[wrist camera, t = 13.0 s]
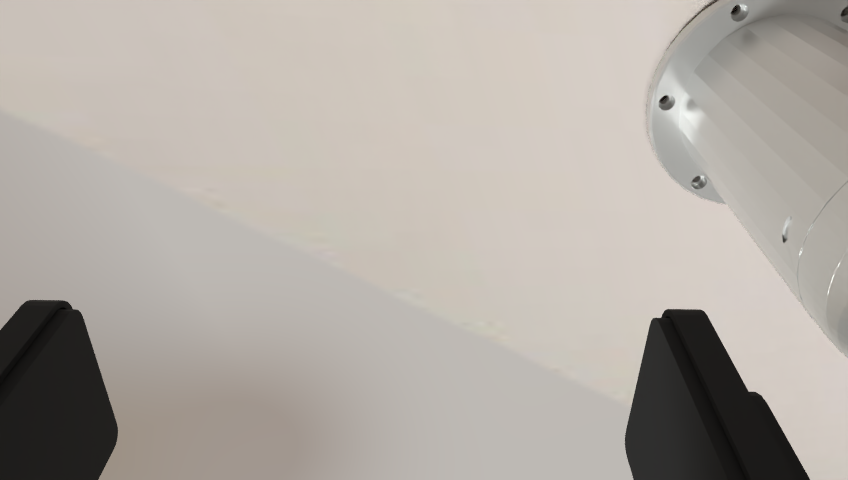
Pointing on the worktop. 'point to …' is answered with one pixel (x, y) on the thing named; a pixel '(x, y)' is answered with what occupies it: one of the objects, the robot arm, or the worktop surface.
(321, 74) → the worktop surface
